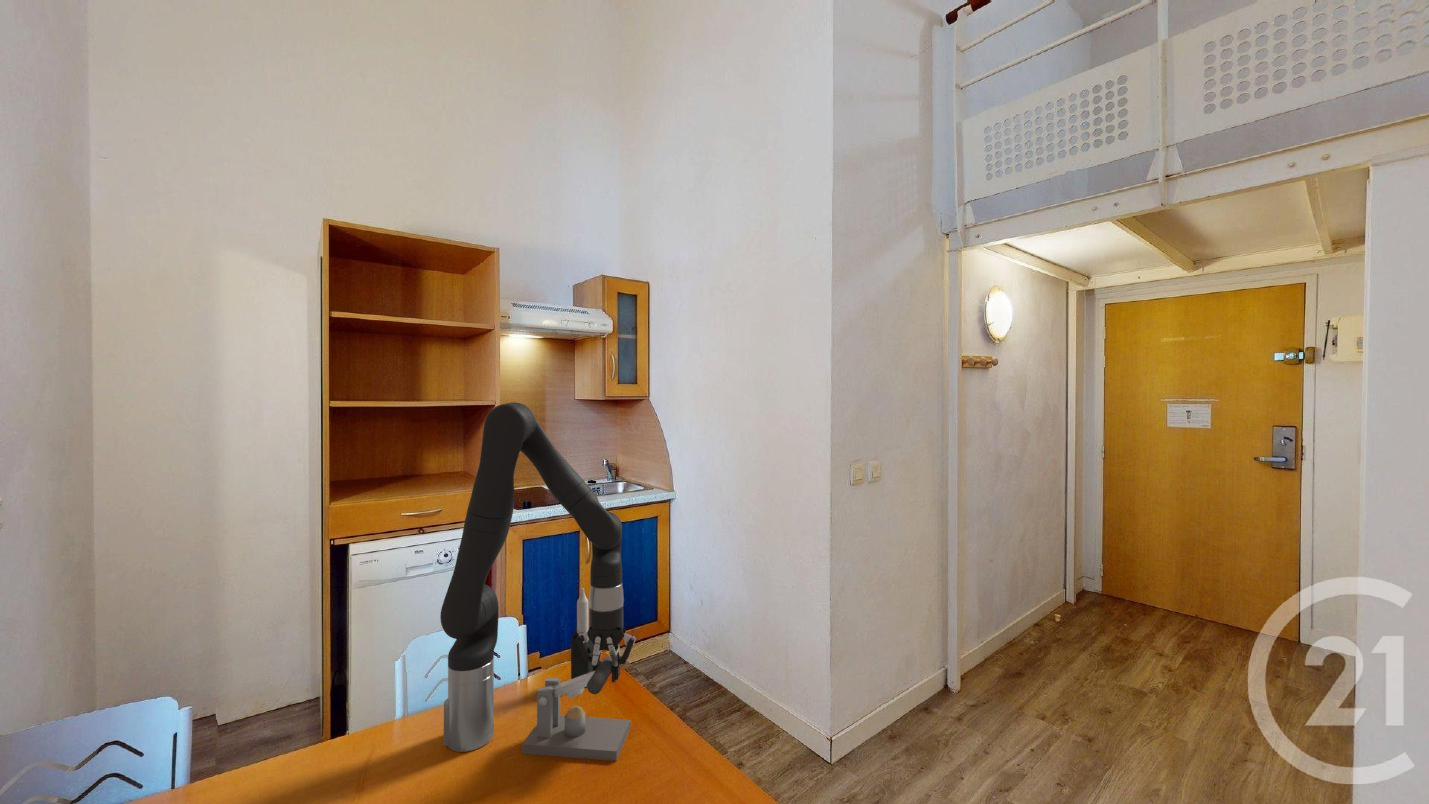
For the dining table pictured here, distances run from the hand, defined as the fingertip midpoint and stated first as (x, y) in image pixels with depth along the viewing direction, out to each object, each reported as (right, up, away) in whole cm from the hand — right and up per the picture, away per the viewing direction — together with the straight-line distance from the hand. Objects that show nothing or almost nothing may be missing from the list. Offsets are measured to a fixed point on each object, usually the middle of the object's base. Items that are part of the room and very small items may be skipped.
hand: (606, 679), depth 121 cm
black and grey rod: (-11, -12, +22) cm, 27 cm away
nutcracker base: (-6, -12, -3) cm, 14 cm away
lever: (-6, -2, -3) cm, 6 cm away
